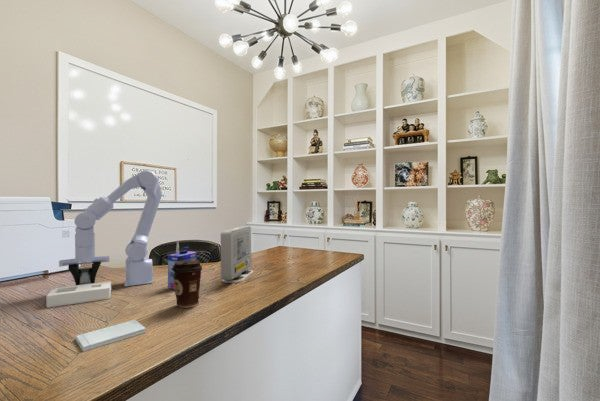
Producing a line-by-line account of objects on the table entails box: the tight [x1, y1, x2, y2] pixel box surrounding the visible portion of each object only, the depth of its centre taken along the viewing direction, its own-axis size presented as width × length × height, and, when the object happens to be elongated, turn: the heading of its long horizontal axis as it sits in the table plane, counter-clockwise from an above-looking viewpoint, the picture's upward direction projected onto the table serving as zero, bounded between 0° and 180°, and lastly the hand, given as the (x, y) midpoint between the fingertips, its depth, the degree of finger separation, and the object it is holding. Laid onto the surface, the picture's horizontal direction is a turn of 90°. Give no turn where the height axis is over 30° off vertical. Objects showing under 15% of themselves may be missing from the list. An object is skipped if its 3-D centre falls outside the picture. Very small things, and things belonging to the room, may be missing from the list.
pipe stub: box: [78, 266, 92, 285], centre depth 107 cm, size 4×4×8 cm
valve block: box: [46, 280, 112, 309], centre depth 98 cm, size 16×10×4 cm, turn 120°
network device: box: [220, 225, 254, 284], centre depth 124 cm, size 26×9×20 cm, turn 172°
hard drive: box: [75, 319, 147, 352], centre depth 70 cm, size 2×8×12 cm
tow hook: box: [175, 240, 180, 253], centre depth 148 cm, size 8×13×9 cm
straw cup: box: [167, 246, 198, 290], centre depth 112 cm, size 10×6×14 cm, turn 158°
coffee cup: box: [172, 260, 203, 309], centre depth 91 cm, size 9×8×13 cm
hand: (85, 284), depth 107 cm, fingers closed on pipe stub, 4 cm apart
